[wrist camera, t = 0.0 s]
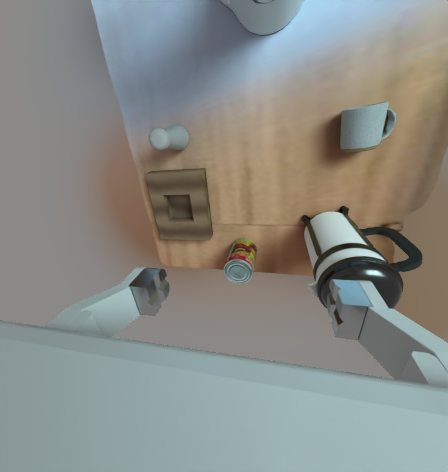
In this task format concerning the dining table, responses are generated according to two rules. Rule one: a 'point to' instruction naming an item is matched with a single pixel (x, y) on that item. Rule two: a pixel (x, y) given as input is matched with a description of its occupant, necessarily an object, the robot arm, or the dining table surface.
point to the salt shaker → (169, 138)
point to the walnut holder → (181, 203)
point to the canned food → (241, 261)
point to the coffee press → (354, 256)
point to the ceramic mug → (365, 127)
